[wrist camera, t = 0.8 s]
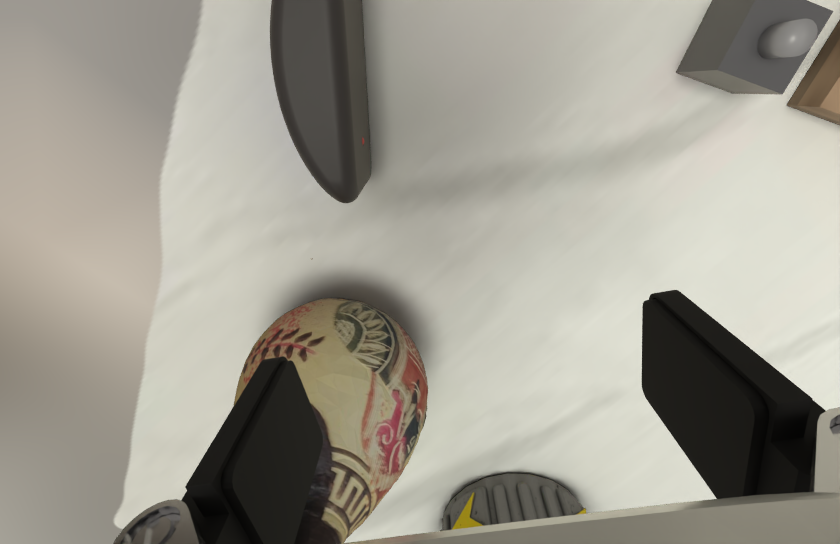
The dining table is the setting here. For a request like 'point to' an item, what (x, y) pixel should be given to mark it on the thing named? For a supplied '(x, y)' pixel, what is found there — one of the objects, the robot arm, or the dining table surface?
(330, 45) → the rounded red-dot block
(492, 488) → the decorative lamp
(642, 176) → the dining table surface
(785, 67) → the plug
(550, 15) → the dining table surface
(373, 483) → the ceramic jug
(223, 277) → the dining table surface
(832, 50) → the socket board
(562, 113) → the dining table surface
